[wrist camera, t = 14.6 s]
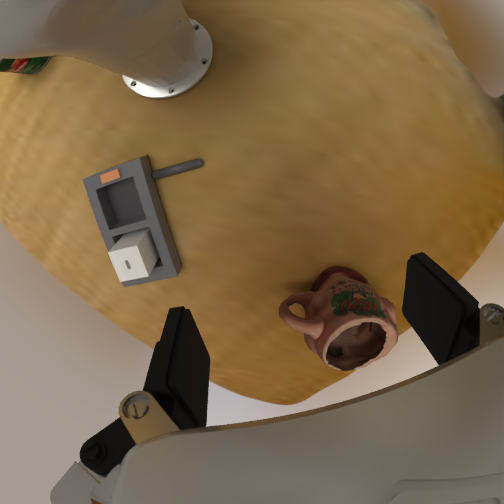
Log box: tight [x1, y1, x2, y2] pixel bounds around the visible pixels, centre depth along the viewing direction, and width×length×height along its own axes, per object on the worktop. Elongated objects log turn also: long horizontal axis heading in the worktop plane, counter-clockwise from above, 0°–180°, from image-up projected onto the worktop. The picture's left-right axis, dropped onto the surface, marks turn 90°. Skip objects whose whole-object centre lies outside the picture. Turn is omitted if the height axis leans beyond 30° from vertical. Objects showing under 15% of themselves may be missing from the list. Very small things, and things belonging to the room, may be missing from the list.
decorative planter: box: [279, 267, 398, 371], centre depth 38 cm, size 20×12×14 cm, turn 78°
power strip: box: [83, 155, 203, 287], centre depth 36 cm, size 17×16×4 cm
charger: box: [108, 227, 159, 282], centre depth 36 cm, size 4×4×7 cm
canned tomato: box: [0, 56, 51, 75], centre depth 19 cm, size 8×8×11 cm
